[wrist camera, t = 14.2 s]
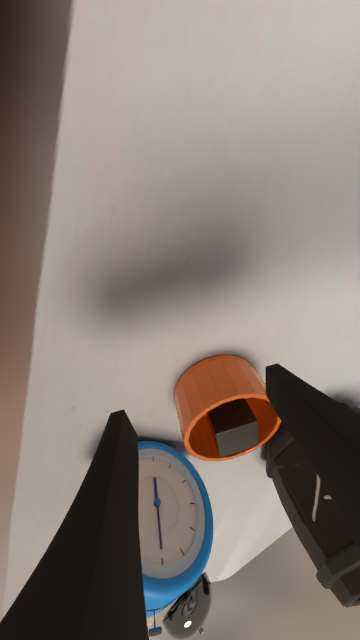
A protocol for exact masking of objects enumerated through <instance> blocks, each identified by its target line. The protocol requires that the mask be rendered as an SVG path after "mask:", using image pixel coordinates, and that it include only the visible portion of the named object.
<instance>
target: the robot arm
mask: <svg viewBox="0 0 360 640" xmlns="http://www.w3.org/2000/svg"><path fill="white" fill-rule="evenodd" d="M266 396H267V398H268V400H269V401H270V403H271V405H272V407H273V409H274V411H275V412H276V414H277V415H278V417H279V418H280V420H281V421H282V423H283V424H284V426H285V427H286V428H287V430H288V431H289V433H290V434H291V436H292V437H293V438H294V440H295V441H296V443H297V444H298V446H299V447H300V448H301V450H302V451H303V453H304V454H305V456H306V457H307V458H308V460H309V462H310V463H311V465H312V466H313V468H314V469H315V471H316V473H317V475H318V476H319V478H320V480H321V481H322V483H323V485H324V486H325V488H326V490H327V492H328V493H329V495H330V497H331V499H332V501H333V502H334V504H335V506H336V508H337V509H338V511H339V513H340V515H341V517H342V518H343V520H344V522H345V524H346V526H347V528H348V530H349V531H350V533H351V535H352V537H353V539H354V541H355V543H356V544H357V546H358V548H359V550H360V414H359V413H357V412H355V411H353V410H351V409H349V408H348V407H346V406H344V405H342V404H340V403H339V402H337V401H335V400H333V399H332V398H330V397H328V396H327V395H325V394H324V393H322V392H320V391H319V390H317V389H315V388H314V387H312V386H311V385H309V384H308V383H306V382H304V381H303V380H301V379H300V378H298V377H297V376H295V375H294V374H292V373H291V372H289V371H288V370H286V369H285V368H284V367H282V366H281V365H279V364H274V365H271V366H267V367H266ZM138 503H139V453H138V442H137V434H136V432H135V430H134V428H133V426H132V424H131V422H130V420H129V419H128V417H127V415H126V413H125V411H124V410H120V411H117V412H114V413H111V414H110V416H109V419H108V422H107V424H106V427H105V430H104V433H103V435H102V438H101V441H100V443H99V446H98V448H97V451H96V453H95V455H94V458H93V460H92V463H91V465H90V467H89V470H88V472H87V474H86V476H85V478H84V480H83V483H82V485H81V487H80V489H79V491H78V493H77V495H76V497H75V499H74V501H73V503H72V505H71V507H70V509H69V511H68V513H67V515H66V517H65V518H64V520H63V522H62V524H61V526H60V528H59V529H58V531H57V533H56V535H55V536H54V538H53V540H52V542H51V543H50V545H49V547H48V549H47V550H46V552H45V554H44V555H43V557H42V559H41V560H40V562H39V564H38V565H37V567H36V568H35V570H34V572H33V573H32V575H31V576H30V578H29V579H28V581H27V583H26V584H25V586H24V587H23V589H22V590H21V592H20V594H19V595H18V597H17V598H16V600H15V601H14V603H13V604H12V606H11V607H10V609H9V610H8V612H7V613H6V615H5V616H4V618H3V620H2V621H1V622H0V640H149V636H148V628H147V618H146V608H145V598H144V587H143V576H142V564H141V551H140V537H139V517H138Z"/></svg>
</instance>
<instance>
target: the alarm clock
mask: <svg viewBox="0 0 360 640" xmlns="http://www.w3.org/2000/svg"><path fill="white" fill-rule="evenodd" d="M138 453H139V503H138V517H139V537H140V551H141V564H142V576H143V587H144V598H145V608H146V618H149V617H151V616H154V628H152V629H149V632H148V634H149V637H151V636H156V635H160V634H161V632H162V629H161V627H157V628H155V615H156V614H157V613H159V612H160V611H162V610H163V609H164V608H165V607H167V606H168V605H169V604H171V603H172V602H173V601H174V600H176V599H177V598H178V597H179V598H178V599H177V600H176V602H175V603H174V604H173V605H172V607H171V608H170V609H169V611H168V612H167V613H166V615H165V617H164V619H163V621H162V622H163V624H164V627H165V629H166V631H167V633H168V634H169V635H170V636H171V637H172V638H174V639H177V640H186V639H189V638H191V637H193V636H194V635H195V634H196V633H197V632H198V631H199V632H200V634H201V633H202V632H203V629H202V625H203V624H204V622H205V621H206V619H207V617H208V614H209V611H210V607H211V602H212V589H211V583H210V580H209V577H208V575H207V573H206V572H204V573H203V574H202V572H203V570H204V568H205V566H206V564H207V561H208V558H209V555H210V552H211V547H212V540H213V516H212V509H211V504H210V500H209V496H208V493H207V490H206V488H205V486H204V483H203V481H202V479H201V477H200V476H199V474H198V472H197V471H196V469H195V468H194V467H193V465H192V464H191V463H190V462H189V461H188V459H187V458H186V457H185V456H183V455H182V454H181V453H180V452H178V451H177V450H176V449H175V445H174V446H173V447H170V446H168V445H166V444H164V443H160V442H156V441H140V442H138Z"/></svg>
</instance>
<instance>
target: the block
mask: <svg viewBox="0 0 360 640" xmlns="http://www.w3.org/2000/svg"><path fill="white" fill-rule="evenodd" d="M206 417H207V420H208V423H209V426H210V429H211V432H212V435H213V438H214V441H215V444H216V447H217V450H218V453H219V456H220V457H223V456H226V455H229V454H233V453H236V452H239V451H242V450H245V449H248V448H251V447H254V446H257V445H258V421H257V419H256V417H255V415H254V414H253V412H252V410H251V408H250V406H249V405H248V403H247V401H246V399H245V398H241V399H236V400H232V401H229V402H226V403H223V404H221V405H219V406H217V407H215V408H213V409H212V410H210V411H208V412H207V413H206Z"/></svg>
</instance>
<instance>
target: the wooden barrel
mask: <svg viewBox="0 0 360 640" xmlns="http://www.w3.org/2000/svg"><path fill="white" fill-rule="evenodd" d="M340 404H342V405H344V406H346V407H348V408H349V409H351V410H353V411H355V412H357V413H359V414H360V409H359V408H350V407H349V406H347V405H346V404H344V403H340ZM265 457H266V460H267V462H266V472H267V476H268V477H269V478H272V480H273V482H274V485H275V487H276V490H277V493H278V495H279V498H280V500H281V503H282V505H283V507H284V509H285V511H286V513H287V515H288V517H289V519H290V521H291V523H292V526H293V528H294V529H295V532H296V534H297V535H298V537H299V539H300V541H301V543H302V544H303V546H304V548H305V549H306V551H307V553H308V554H309V556H310V558H311V560H312V561H313V563H314V565H315V566H316V568H317V570H318V572H317V574H316V576H317V579H318V580H319V582H320V583H321V585H322V586H323V587H324V588H325V589H331V591H332V592H333V593H334V594H335V596H336V597H337V598H338V600H339V601H340V602H341V604H342V605H343V606H345V607H351V606H357V605H360V550H359V548H358V546H357V544H356V543H355V541H354V539H353V537H352V535H351V533H350V531H349V530H348V528H347V526H346V524H345V522H344V520H343V518H342V517H341V515H340V513H339V511H338V509H337V508H336V506H335V504H334V502H333V501H332V499H331V497H330V495H329V493H328V492H327V490H326V488H325V486H324V485H323V483H322V481H321V480H320V478H319V476H318V475H317V473H316V471H315V469H314V468H313V466H312V465H311V463H310V462H309V460H308V458H307V457H306V456H305V454H304V453H303V451H302V450H301V448H300V447H299V446H298V444H297V443H296V441H295V440H294V438H293V437H292V436H291V434H290V433H289V431H288V430H287V428H286V427H285V426H284V424H282V425H281V426H280V427H279V428H278V430H277V431H276V432H275V433H274V434H273V436H272V437H271V438H270V439H269V440H268V441H267V442H266V456H265Z"/></svg>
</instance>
